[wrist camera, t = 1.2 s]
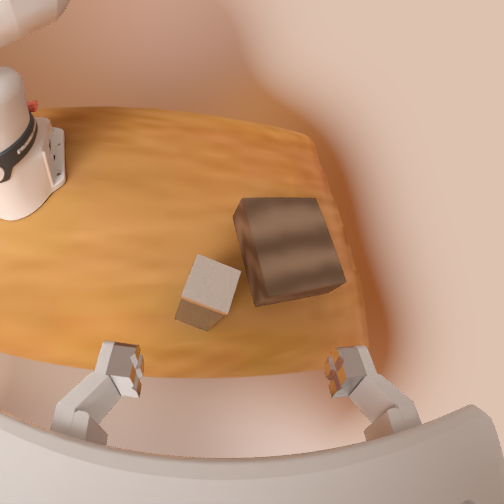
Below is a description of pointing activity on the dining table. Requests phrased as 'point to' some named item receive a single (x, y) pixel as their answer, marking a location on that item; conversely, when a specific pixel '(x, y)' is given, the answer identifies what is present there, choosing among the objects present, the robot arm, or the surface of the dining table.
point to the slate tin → (207, 293)
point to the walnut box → (286, 249)
